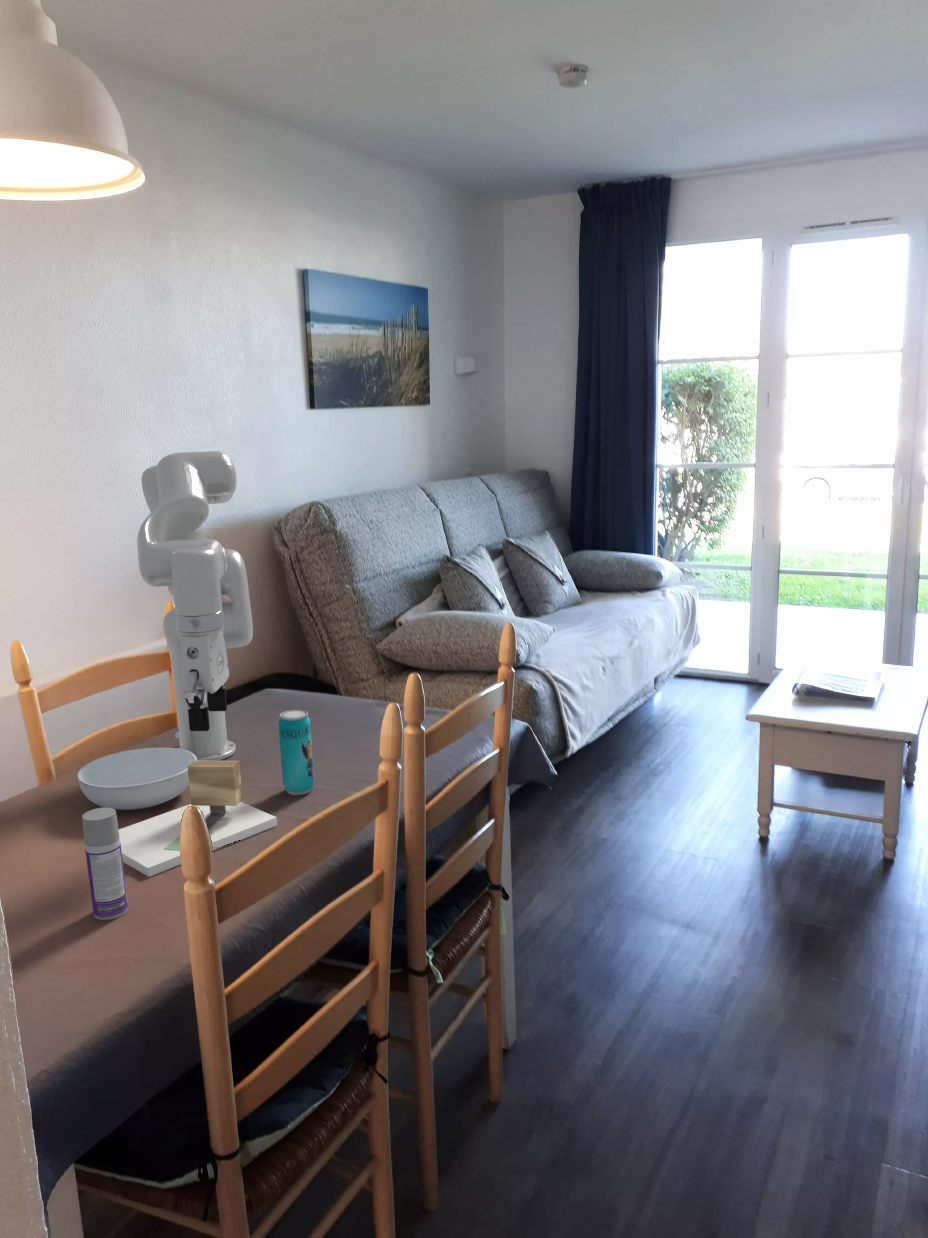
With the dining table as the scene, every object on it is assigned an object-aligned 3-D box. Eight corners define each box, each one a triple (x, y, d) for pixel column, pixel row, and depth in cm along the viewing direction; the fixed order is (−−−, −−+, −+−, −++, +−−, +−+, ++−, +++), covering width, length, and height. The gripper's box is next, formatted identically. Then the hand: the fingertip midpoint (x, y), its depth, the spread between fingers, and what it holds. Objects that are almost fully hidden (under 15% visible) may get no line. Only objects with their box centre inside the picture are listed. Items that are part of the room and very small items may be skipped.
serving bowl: (223, 789, 182) (220, 755, 180) (135, 832, 164) (131, 794, 163) (146, 772, 192) (143, 739, 191) (56, 811, 175) (51, 775, 173)
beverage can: (308, 797, 176) (302, 719, 173) (279, 796, 177) (272, 718, 174) (319, 785, 182) (313, 709, 179) (290, 784, 183) (284, 708, 180)
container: (99, 905, 140) (86, 808, 137) (132, 902, 140) (120, 806, 137) (89, 921, 135) (76, 822, 132) (123, 919, 136) (111, 819, 132)
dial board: (96, 846, 159) (95, 837, 159) (221, 801, 176) (220, 792, 176) (150, 878, 147) (149, 868, 147) (279, 826, 164) (278, 817, 164)
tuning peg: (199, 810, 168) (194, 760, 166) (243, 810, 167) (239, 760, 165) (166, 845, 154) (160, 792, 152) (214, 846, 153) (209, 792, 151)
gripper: (205, 635, 150) (215, 738, 154) (237, 609, 167) (245, 703, 171) (158, 635, 151) (169, 739, 155) (194, 610, 167) (203, 703, 171)
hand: (209, 720), depth 163 cm, fingers open, 9 cm apart
